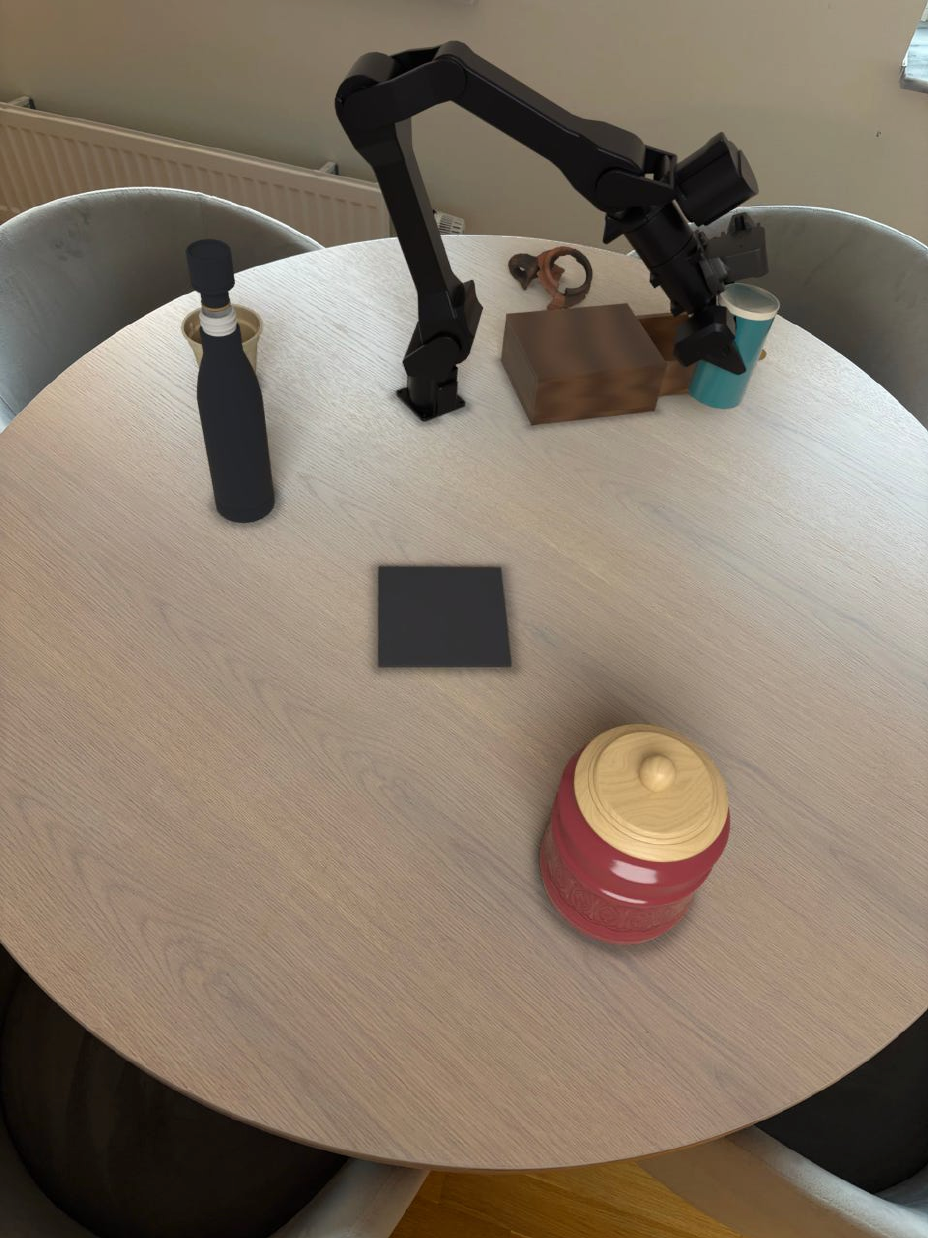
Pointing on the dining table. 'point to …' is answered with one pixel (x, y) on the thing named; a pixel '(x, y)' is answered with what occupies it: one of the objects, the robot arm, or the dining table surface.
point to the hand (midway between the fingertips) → (742, 355)
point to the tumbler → (751, 334)
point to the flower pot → (248, 326)
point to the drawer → (670, 350)
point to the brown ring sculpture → (551, 275)
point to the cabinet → (581, 363)
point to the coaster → (442, 617)
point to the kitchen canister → (633, 833)
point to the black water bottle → (229, 393)
